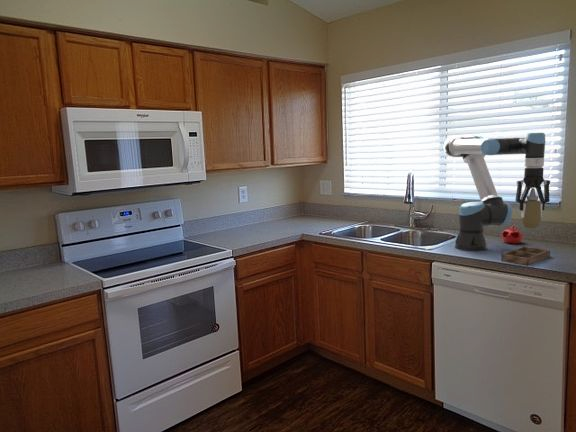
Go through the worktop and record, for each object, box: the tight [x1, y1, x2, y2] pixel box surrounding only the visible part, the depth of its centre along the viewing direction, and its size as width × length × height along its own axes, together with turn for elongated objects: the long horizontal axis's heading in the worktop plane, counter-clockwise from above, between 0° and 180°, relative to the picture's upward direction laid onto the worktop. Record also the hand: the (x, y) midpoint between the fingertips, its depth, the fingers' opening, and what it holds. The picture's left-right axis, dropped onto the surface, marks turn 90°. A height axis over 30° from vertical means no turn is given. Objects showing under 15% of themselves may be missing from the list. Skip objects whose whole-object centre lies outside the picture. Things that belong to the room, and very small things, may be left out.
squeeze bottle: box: [521, 188, 542, 229], centre depth 203 cm, size 8×8×18 cm
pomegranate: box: [501, 225, 524, 244], centre depth 237 cm, size 10×10×9 cm
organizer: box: [500, 246, 551, 266], centre depth 204 cm, size 12×22×3 cm, turn 128°
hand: (531, 217), depth 203 cm, fingers closed on squeeze bottle, 6 cm apart
